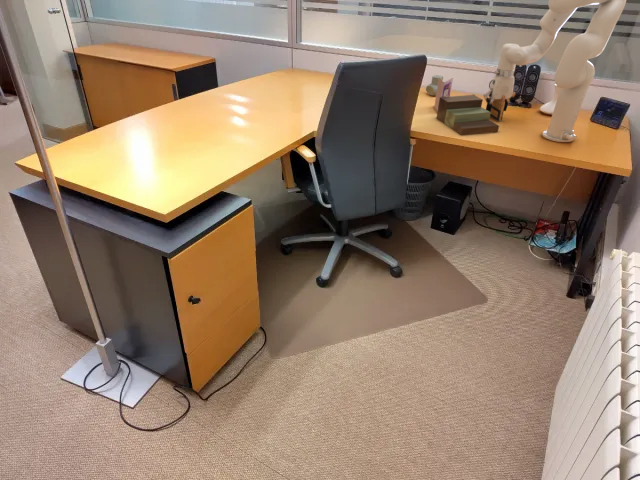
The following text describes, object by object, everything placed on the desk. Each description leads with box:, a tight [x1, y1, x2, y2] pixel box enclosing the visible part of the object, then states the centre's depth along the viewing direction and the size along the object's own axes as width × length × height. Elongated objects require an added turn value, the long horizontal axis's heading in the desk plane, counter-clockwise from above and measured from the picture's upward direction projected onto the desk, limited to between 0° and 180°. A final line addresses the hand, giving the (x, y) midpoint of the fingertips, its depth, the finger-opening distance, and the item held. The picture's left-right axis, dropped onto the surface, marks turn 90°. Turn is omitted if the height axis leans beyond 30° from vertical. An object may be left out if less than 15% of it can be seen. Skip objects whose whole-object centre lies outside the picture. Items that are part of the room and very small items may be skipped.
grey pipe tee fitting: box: [425, 74, 444, 97], centre depth 239 cm, size 11×8×10 cm
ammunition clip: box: [490, 95, 505, 122], centre depth 206 cm, size 11×2×12 cm, turn 9°
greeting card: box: [433, 77, 454, 112], centre depth 215 cm, size 11×7×15 cm, turn 143°
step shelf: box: [436, 94, 500, 136], centre depth 198 cm, size 24×18×10 cm
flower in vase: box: [539, 83, 562, 116], centre depth 209 cm, size 13×11×25 cm
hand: (495, 110), depth 208 cm, fingers open, 7 cm apart
